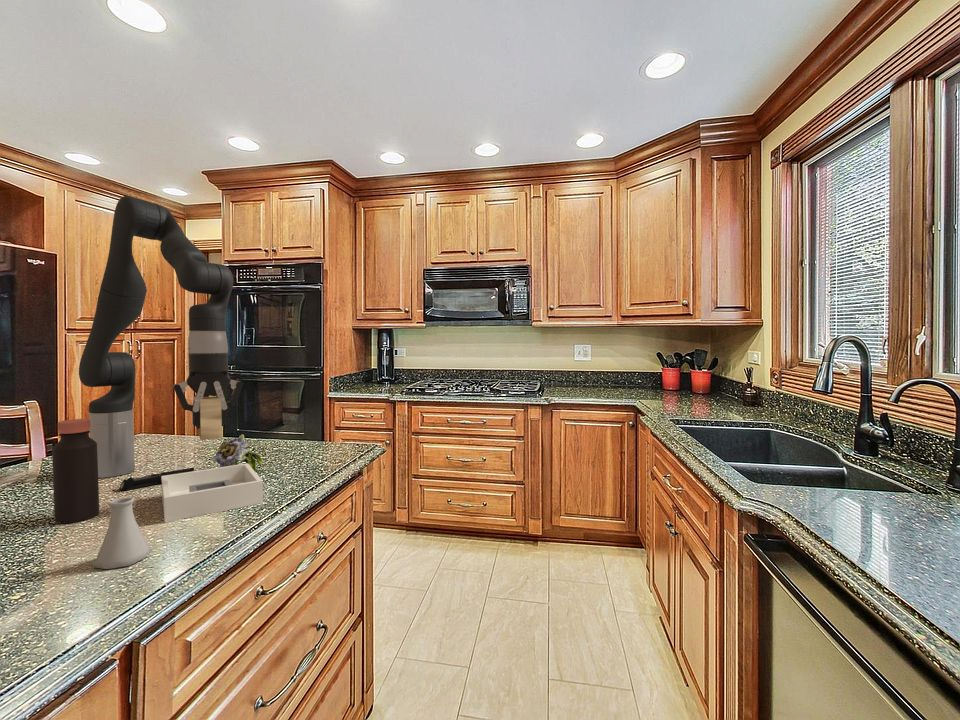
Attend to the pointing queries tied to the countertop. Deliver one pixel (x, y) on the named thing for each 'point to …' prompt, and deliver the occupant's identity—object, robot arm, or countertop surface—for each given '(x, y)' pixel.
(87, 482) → the bottle
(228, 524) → the countertop surface
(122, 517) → the flask
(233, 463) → the passion flower
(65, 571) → the countertop surface
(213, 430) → the plug
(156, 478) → the electric trimmer
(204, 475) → the box
